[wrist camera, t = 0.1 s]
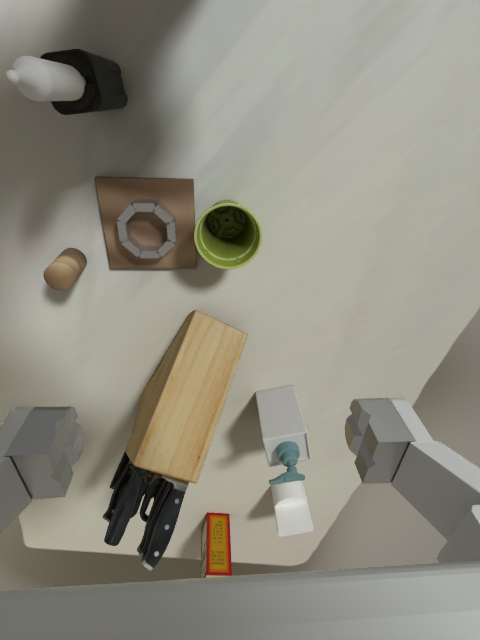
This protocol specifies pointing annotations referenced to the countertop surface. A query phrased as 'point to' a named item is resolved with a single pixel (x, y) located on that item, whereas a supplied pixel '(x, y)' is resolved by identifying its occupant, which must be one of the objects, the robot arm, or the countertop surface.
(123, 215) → the steel ring
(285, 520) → the base with upright slab
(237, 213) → the plant pot
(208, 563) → the baking soda box
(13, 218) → the countertop surface
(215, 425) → the knife block
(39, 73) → the candle
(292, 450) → the soap bottle
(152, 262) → the walnut board
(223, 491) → the countertop surface
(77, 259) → the oak dowel
